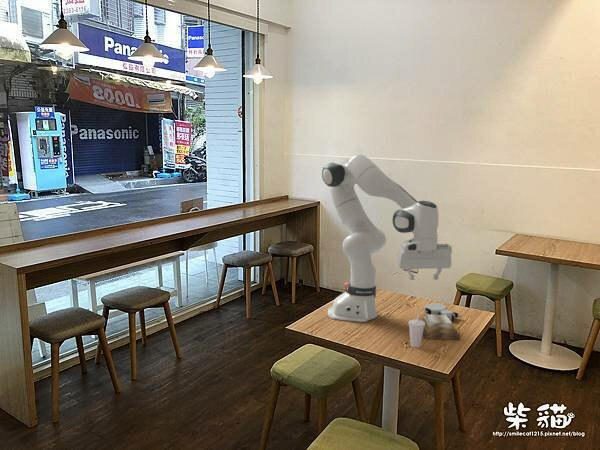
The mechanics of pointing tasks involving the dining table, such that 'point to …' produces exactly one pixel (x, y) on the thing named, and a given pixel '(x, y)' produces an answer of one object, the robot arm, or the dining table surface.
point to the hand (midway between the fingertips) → (423, 279)
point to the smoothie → (416, 331)
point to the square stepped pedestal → (439, 328)
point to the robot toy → (440, 310)
